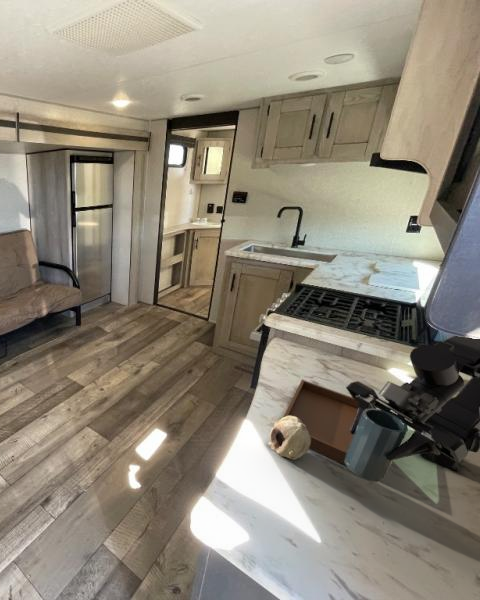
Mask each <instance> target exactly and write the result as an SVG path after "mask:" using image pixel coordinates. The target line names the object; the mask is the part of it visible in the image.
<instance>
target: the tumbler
mask: <svg viewBox="0 0 480 600" xmlns="http://www.w3.org/2000/svg"><path fill="white" fill-rule="evenodd" d="M408 427H409V426H407V425H406V424H405V423H404V422H403V421H402V420H401V419H399V418H398V417H396V416H395V415H393V414H390V413H388V412H386V411H382V410H380V409H379V408H377V409H372V408H370V409H365V410H364V411H363V413H362V415H361V418H360V420H359V423H358V425H357V428H356V430H355V432H354V435H353V437H352V440H351V442H350V445H349V447H348V450H347V452H346V455H345V458H344V463H345V464H344V465H345V466H346V468H348V470H349V471H351V473H353V474H354V475H356V476H357V477H359V478H361V479H364V480H365V481H370V482H373V483H374V482H375V483H380V482H382V481H384V479H385V477H386V476H387V474H388V472H389V470H390V467H391V466H392V464H393V461H394V460H391V461H389V460H388V459H387V456H388V455H389V454H390V453H391V452H392V451H393V450H395V449H396V448H397V447H399V446H400V445H401V444H403V443H402V442H403V440H404V438H405V436H406V434H407V432H408V430H409V428H408Z"/></svg>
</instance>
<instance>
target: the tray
mask: <svg viewBox="0 0 480 600" xmlns="http://www.w3.org/2000/svg"><path fill="white" fill-rule="evenodd" d="M300 380H301V381H300V383H299V384H298V386H297V388H296V390H295V392H294V395H293V397H292V399H291V400H290V403H289V405H288V407H287V409H286V411H285V413H284V415H283V417H286V416H295V417H297V418H299V419H300V420H301V421H302V423H303V424H304V425H305V426H306V429H307V431H308V432H309V434H310V437H311V444H310V447H309V449H310V450H313V451H315V452H317V453H318V454H321V455H323V456H326V457H327V458H330V459H332V460H334V461H336V462H338V463H340V464H343V465H345V463H344V458H345V455H346V452H347V450H348V447H349V445H350V442H351V440H352V437H353V434H351V433H350V430H351V428H352V425H353V423H354V420H355V418H356V415H357V412H358V406H359V404H358V402H357V401H356V400H355V399H354V398H353V397H352V396H351V395H346V394H345V393H342V392H339V391H336V390H333V389H330V388H327V387H324V386H321V385H319V384H316V383H313V382H311V381H307V380H305V379H300Z"/></svg>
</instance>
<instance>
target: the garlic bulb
mask: <svg viewBox="0 0 480 600" xmlns="http://www.w3.org/2000/svg"><path fill="white" fill-rule="evenodd" d="M310 444H311V437H310V434H309V432H308V431H307V429H306V426H305V425H304V424H303V423H302V421H301V420H300V419H299V418H297V417H295V416H286V417H284V416H283V417H282V418H280V419H279V420H277V421H276V422H275V423H274V426H273V427H272V428H271V430H270V433H269V442H268V445H269V447H270V448H271V450H273V451H274V452H275V453H276V454H277V455H278V456H280V457H285V458H287V459H290V460H298V459H300V458H301V457H303V456H304V455H305V454H306V453H307V452H308V451H309V449H310V448H309V447H310Z"/></svg>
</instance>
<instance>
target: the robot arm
mask: <svg viewBox="0 0 480 600" xmlns="http://www.w3.org/2000/svg"><path fill="white" fill-rule="evenodd" d="M409 359H410V362H411V365H412V368H413V371H414V374H415V375H416V377H415V378H414V379H412V381H410V382H407V381H406V382H403V383H402V385H398V384H397V383H394V382H391V381H389V380H388V381H387V382H386V383H385V385H384V386H383V387H382V389H381V390H380V391H379V392H378V394H377V391H376V390H375V389H373V388H371V387H369V386H368V385H366V384H365V383H364V384H363V383H362V382H361V381H359V380H358V381H357V380H356V381H352V382H350V383H349V384H348V385H347V386H346V387H345V389H346V390H347V392H348V393H349V394H350V397H353V398H354V399H355V400H356V401H357V402H358V404H359V406H358V412H357V415H356V418H355V420H354V423H353V425H352V428H351V430H350V433H351V434H353V435H354V432H355V430H356V428H357V425H358V423H359V420H360V418H361V415H362V413H363V411H364V410H365V409H370V408H372V409H379V410H382V411H386V412H388V413H390V414H393V415H395V416H396V417H398V418H399V419H401V420H402V421H403V422H404V423H405V424H406V425H407V427H409V428H410V429H412V430H414V431H413V433H412V434H411V435H410V437H409V438H408V439H407V440H406V441H404V442H403V443H401V445H400V446H399V447H397V448H396V449H395V450H393V451H392V452H391V453H390V454H389V455H388V456H387V459H388V460H389V461H391V460H393V461H394V460H398V459H404V458H407V457H411V456H414V455H419V456H420V457H421V458H423V459H426V460H428V461H431V462H433V463H436V464H437V465H440V466H443V467H446V468H448V469H451V470H453V471H456V472H459V471H460V466H459V463H461V462H462V461H463V460H464V459H465V458H466V457H467V456H468V454H469V452H473V453H478V452H479V450H480V339H472V338H465V337H458V336H455V335H453V336H450V337H449V338H446V339H444V340H439V341H438V342H436V343H434V344H423V345H419V346H417V347H414V348H412V349H411V351H410V355H409ZM460 373H462V374H463V375H466V376H469V377H470V379H469V380H468V382H467V383H466V384H465V381H464V378H463V377H462V376H461V374H460ZM456 394H457V395H456ZM379 396H381V397H382V398H384V399H385V400H383V399H381V398H379Z"/></svg>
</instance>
